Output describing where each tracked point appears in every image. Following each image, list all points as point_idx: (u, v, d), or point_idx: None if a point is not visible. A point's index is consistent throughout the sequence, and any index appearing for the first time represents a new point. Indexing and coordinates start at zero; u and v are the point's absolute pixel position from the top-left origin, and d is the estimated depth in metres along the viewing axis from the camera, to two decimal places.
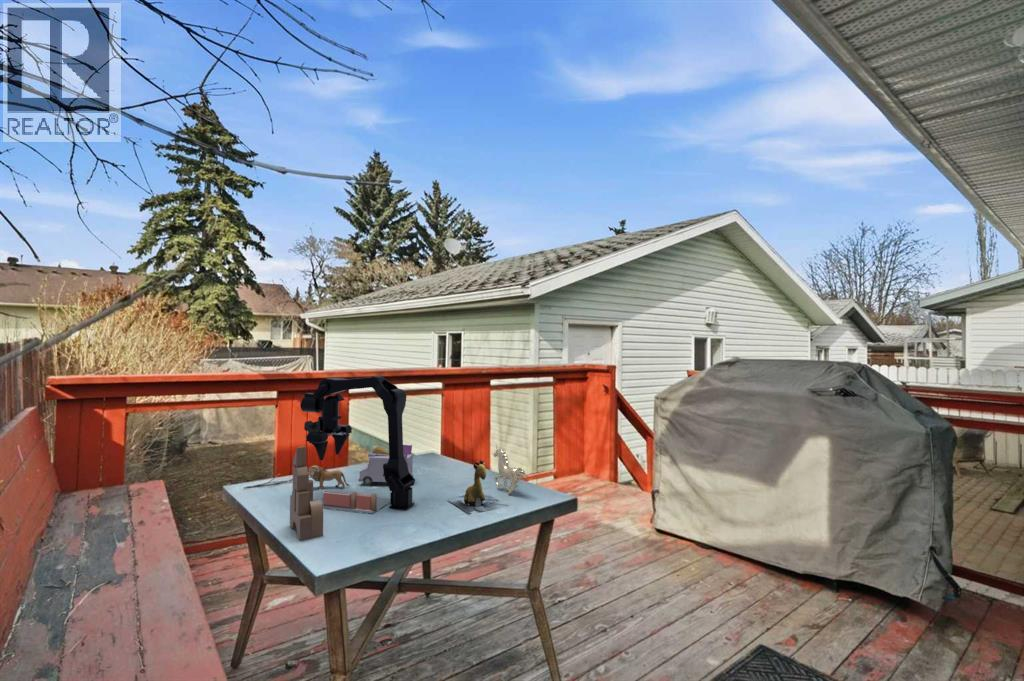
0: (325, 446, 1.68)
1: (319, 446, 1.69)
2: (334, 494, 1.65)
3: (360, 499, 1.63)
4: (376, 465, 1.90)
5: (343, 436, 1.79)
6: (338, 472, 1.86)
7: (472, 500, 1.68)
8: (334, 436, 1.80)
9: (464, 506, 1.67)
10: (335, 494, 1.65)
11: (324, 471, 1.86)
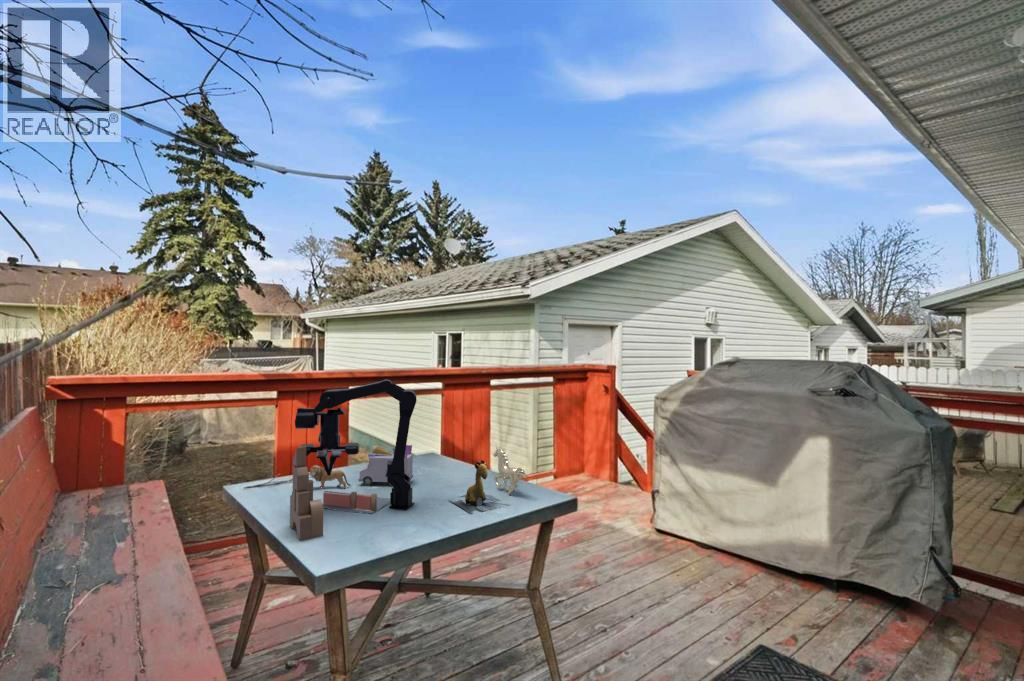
0: (323, 461, 1.60)
1: None
2: (334, 494, 1.65)
3: (360, 499, 1.63)
4: (376, 465, 1.90)
5: (330, 456, 1.61)
6: (339, 472, 1.86)
7: (474, 500, 1.68)
8: None
9: (465, 506, 1.68)
10: (335, 494, 1.65)
11: (325, 471, 1.86)
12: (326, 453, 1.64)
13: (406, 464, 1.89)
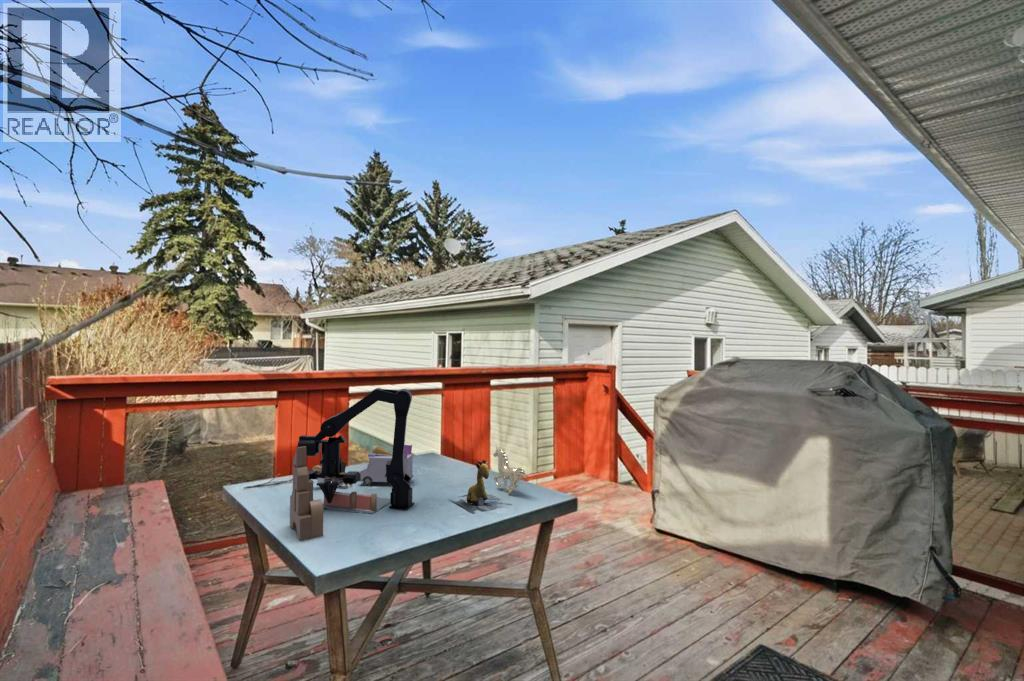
0: (322, 489, 1.62)
1: None
2: (334, 494, 1.66)
3: (360, 499, 1.63)
4: (376, 465, 1.90)
5: None
6: None
7: (475, 499, 1.69)
8: None
9: (467, 505, 1.68)
10: (335, 494, 1.66)
11: None
12: (328, 480, 1.65)
13: (406, 464, 1.89)
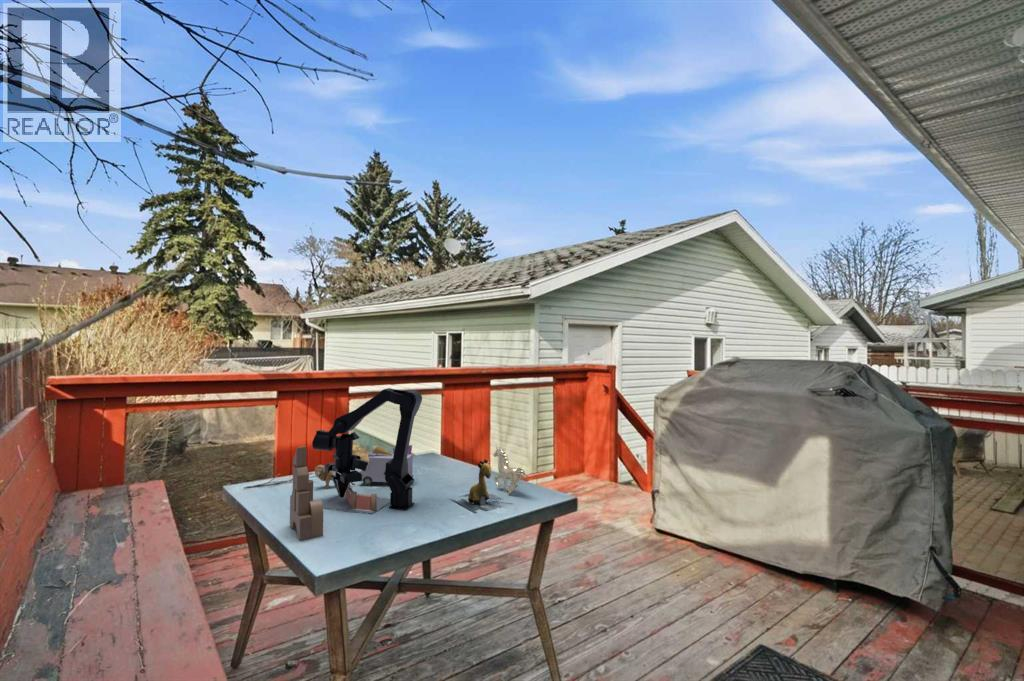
0: (333, 481, 1.70)
1: None
2: (347, 490, 1.70)
3: (360, 499, 1.63)
4: (376, 465, 1.90)
5: None
6: None
7: (477, 499, 1.69)
8: None
9: (469, 505, 1.69)
10: (348, 490, 1.70)
11: (330, 471, 1.87)
12: None
13: None
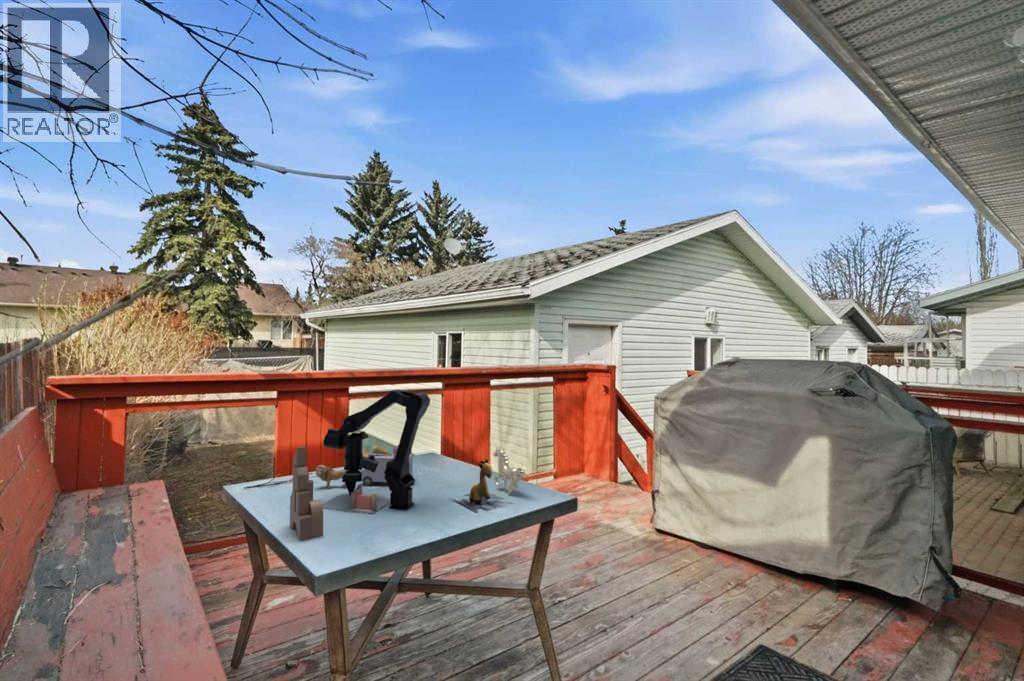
0: None
1: None
2: None
3: (360, 499, 1.63)
4: None
5: None
6: None
7: (478, 498, 1.70)
8: None
9: (470, 505, 1.69)
10: None
11: (331, 471, 1.87)
12: None
13: None
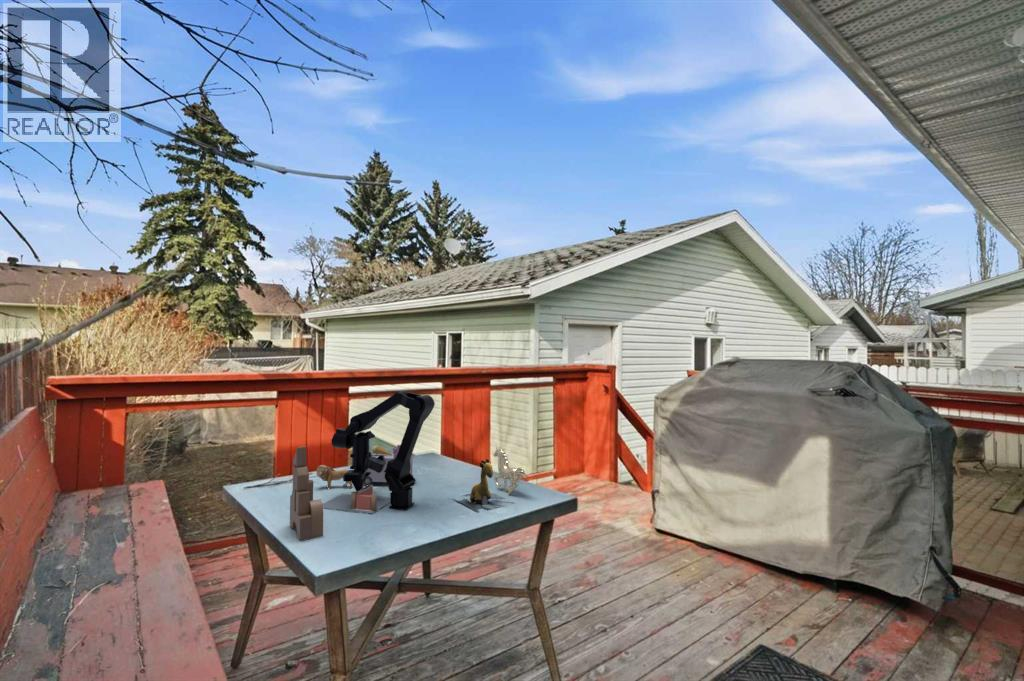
0: None
1: None
2: None
3: (360, 499, 1.63)
4: None
5: None
6: None
7: (479, 498, 1.70)
8: None
9: (471, 504, 1.69)
10: None
11: (332, 471, 1.87)
12: None
13: None
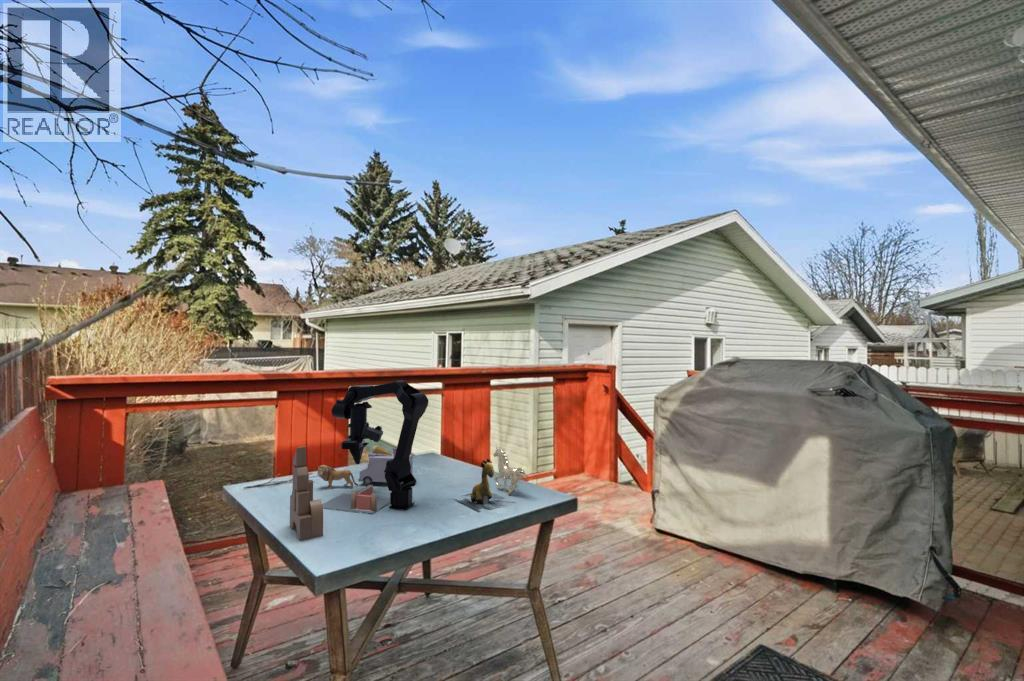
0: None
1: None
2: None
3: (360, 499, 1.63)
4: (376, 465, 1.90)
5: None
6: (347, 471, 1.87)
7: (480, 498, 1.70)
8: None
9: (472, 504, 1.69)
10: None
11: (333, 470, 1.87)
12: (362, 443, 1.77)
13: None
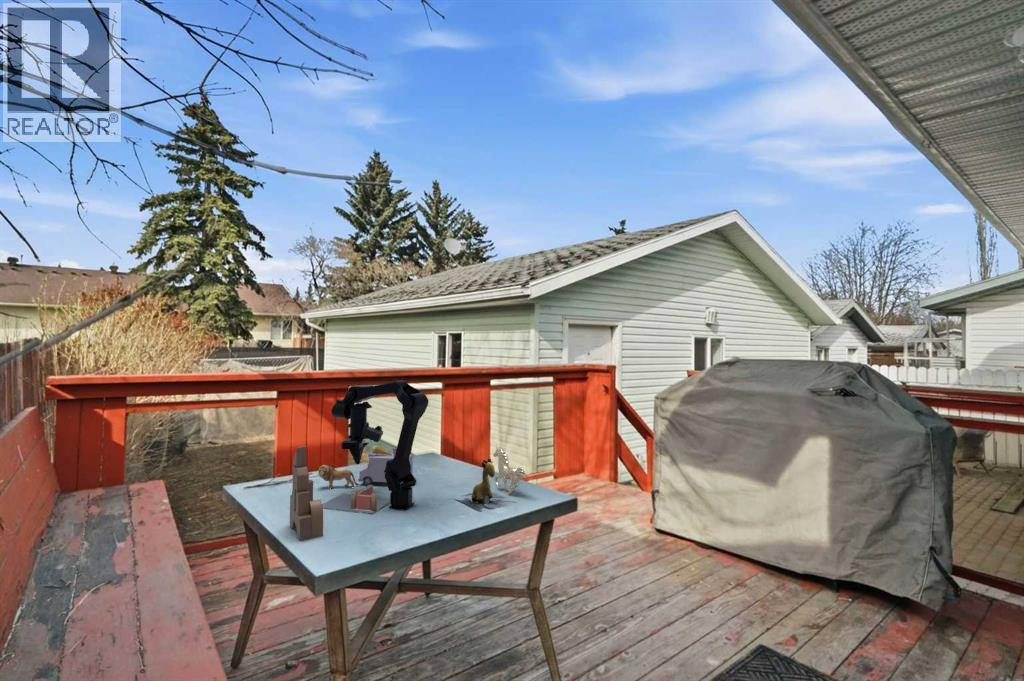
0: None
1: None
2: None
3: (360, 499, 1.63)
4: (376, 465, 1.90)
5: None
6: (347, 471, 1.87)
7: (481, 498, 1.71)
8: None
9: (473, 504, 1.70)
10: None
11: (333, 471, 1.87)
12: (362, 443, 1.77)
13: None
